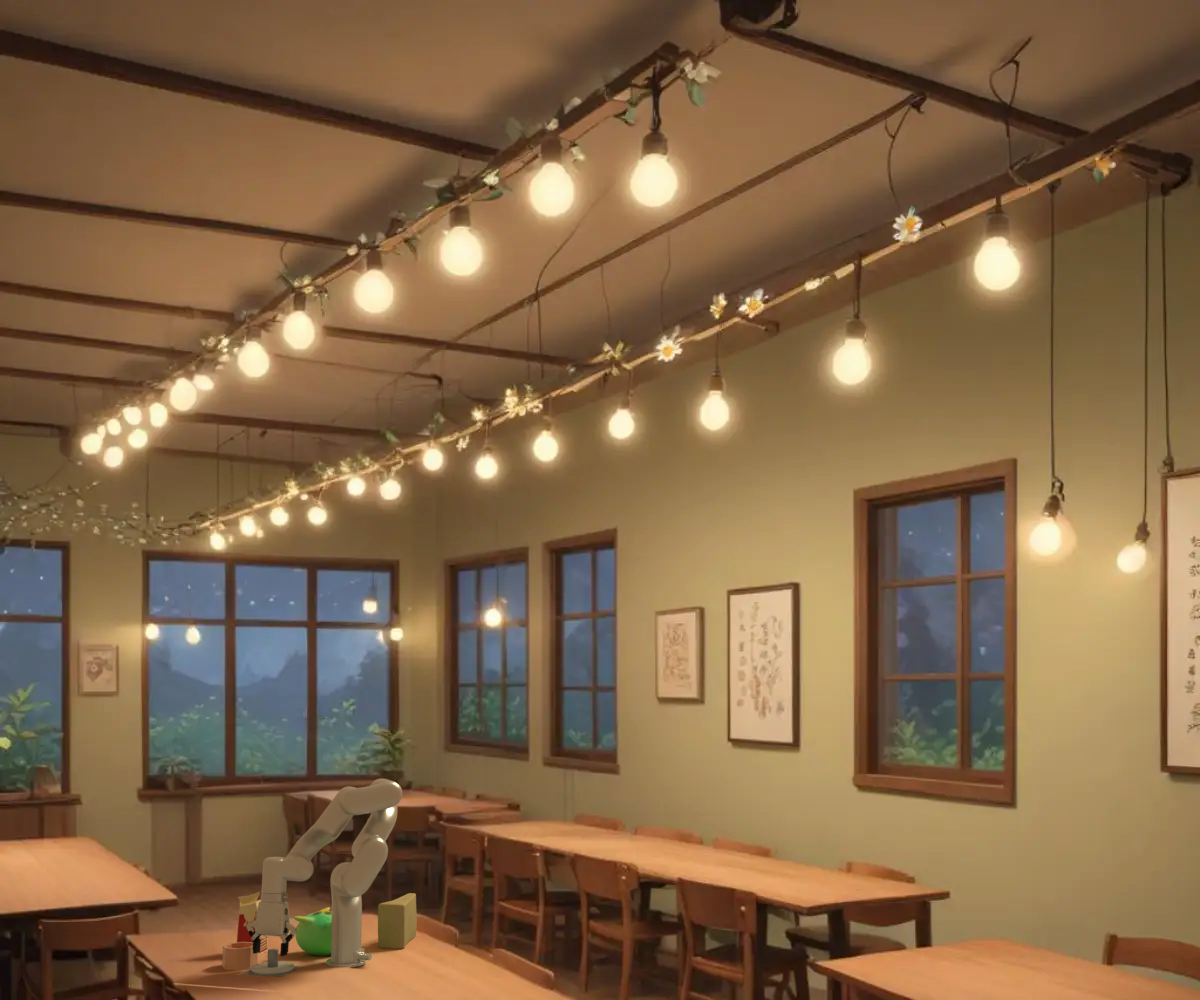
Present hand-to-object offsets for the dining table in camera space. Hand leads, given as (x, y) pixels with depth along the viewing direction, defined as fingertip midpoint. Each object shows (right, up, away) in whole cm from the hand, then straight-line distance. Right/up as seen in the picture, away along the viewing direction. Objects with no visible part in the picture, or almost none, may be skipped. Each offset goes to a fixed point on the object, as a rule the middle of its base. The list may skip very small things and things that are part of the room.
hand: (270, 954), depth 411 cm
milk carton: (-13, -9, +26) cm, 30 cm away
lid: (+1, -5, 0) cm, 5 cm away
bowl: (-11, -6, +5) cm, 14 cm away
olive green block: (+35, -11, +43) cm, 56 cm away
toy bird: (+11, -9, +24) cm, 27 cm away
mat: (+1, -6, 0) cm, 6 cm away
